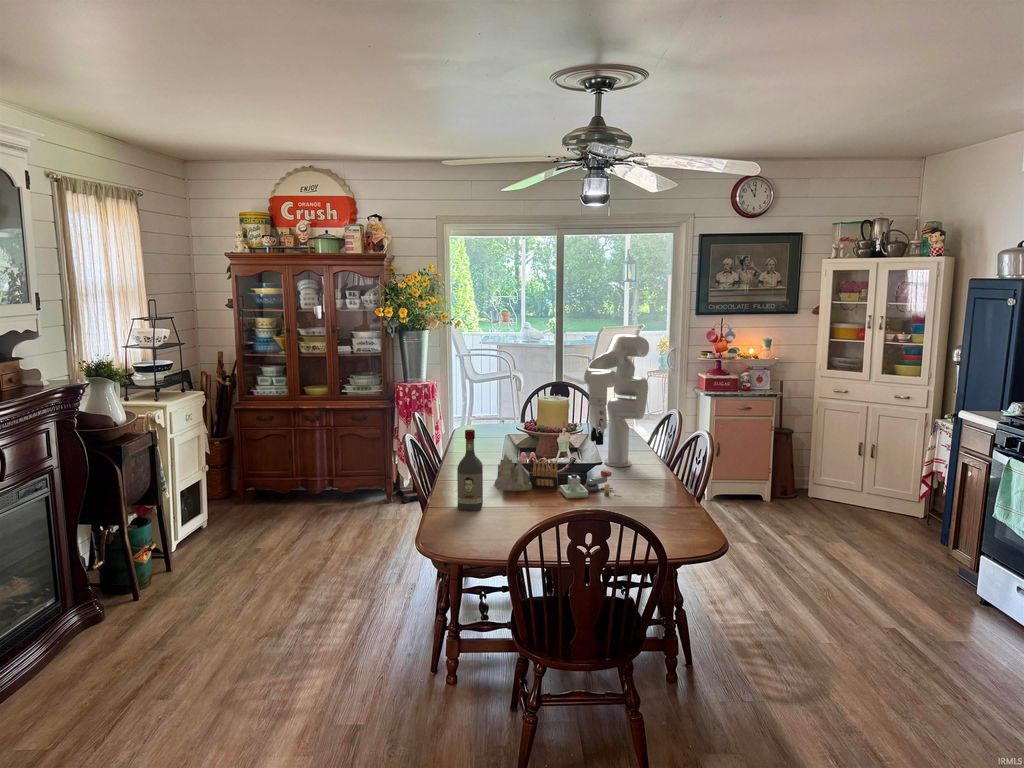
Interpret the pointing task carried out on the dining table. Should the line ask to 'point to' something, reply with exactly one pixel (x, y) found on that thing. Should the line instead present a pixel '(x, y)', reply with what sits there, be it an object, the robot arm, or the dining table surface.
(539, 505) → the dining table surface
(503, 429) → the dining table surface
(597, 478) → the crank
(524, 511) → the dining table surface
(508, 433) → the dining table surface
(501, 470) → the grey castle model
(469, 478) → the liquor
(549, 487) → the ammunition clip
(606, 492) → the crank pedestal
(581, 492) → the tray
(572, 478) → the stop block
